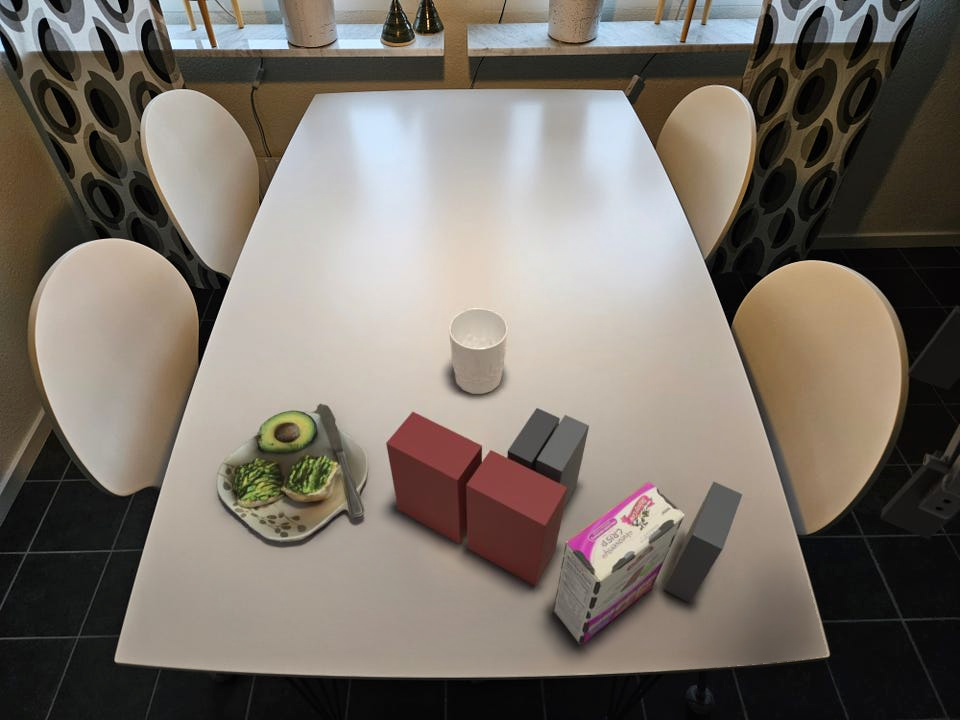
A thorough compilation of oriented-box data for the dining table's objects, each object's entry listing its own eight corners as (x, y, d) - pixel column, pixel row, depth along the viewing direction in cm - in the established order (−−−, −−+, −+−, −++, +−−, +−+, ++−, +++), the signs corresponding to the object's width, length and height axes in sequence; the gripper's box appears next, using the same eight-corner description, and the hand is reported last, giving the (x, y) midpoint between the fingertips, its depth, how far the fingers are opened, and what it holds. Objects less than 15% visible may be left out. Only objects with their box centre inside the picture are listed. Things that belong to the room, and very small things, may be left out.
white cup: (514, 368, 95) (517, 319, 87) (489, 405, 90) (491, 357, 83) (467, 350, 97) (466, 300, 90) (441, 385, 92) (437, 336, 85)
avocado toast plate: (411, 479, 82) (408, 458, 79) (298, 581, 73) (290, 563, 69) (313, 400, 90) (307, 379, 87) (201, 483, 81) (189, 463, 78)
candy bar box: (622, 553, 75) (650, 477, 63) (653, 587, 73) (689, 514, 60) (548, 610, 71) (563, 540, 59) (579, 648, 68) (601, 583, 56)
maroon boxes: (535, 586, 73) (545, 526, 62) (397, 509, 79) (385, 443, 69) (555, 550, 75) (567, 487, 65) (420, 479, 82) (412, 411, 72)
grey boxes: (689, 603, 71) (722, 549, 62) (504, 506, 79) (507, 445, 70) (708, 552, 75) (742, 494, 66) (530, 464, 83) (537, 401, 74)
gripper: (1059, 43, 36) (884, 315, 52) (1069, 299, 22) (822, 570, 38) (1226, 73, 34) (989, 350, 50) (1362, 385, 19) (966, 637, 35)
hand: (917, 445), depth 44 cm, fingers open, 13 cm apart
